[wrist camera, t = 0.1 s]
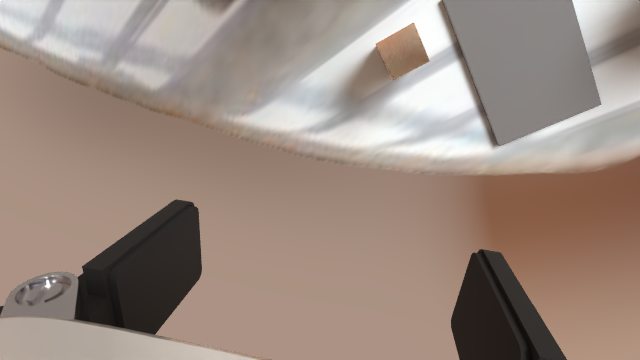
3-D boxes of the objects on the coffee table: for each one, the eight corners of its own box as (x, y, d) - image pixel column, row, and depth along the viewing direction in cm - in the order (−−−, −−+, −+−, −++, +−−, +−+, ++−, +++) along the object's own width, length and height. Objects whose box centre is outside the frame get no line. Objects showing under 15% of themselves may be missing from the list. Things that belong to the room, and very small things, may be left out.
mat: (441, -1, 39) (443, -2, 38) (550, -63, 36) (553, -65, 35) (497, 144, 44) (499, 145, 43) (597, 103, 40) (601, 104, 40)
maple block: (376, 45, 42) (375, 43, 33) (405, 29, 41) (413, 22, 32) (389, 74, 43) (392, 80, 34) (418, 59, 42) (429, 61, 33)
